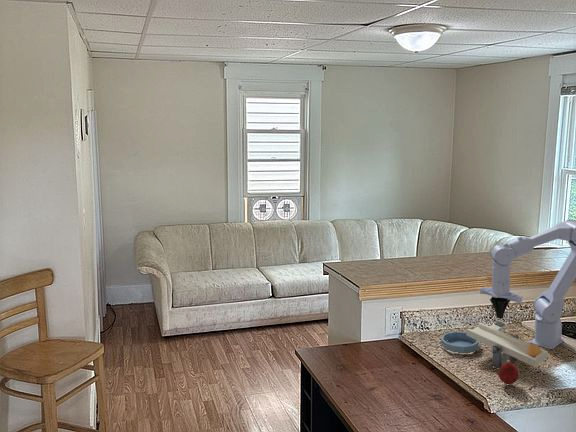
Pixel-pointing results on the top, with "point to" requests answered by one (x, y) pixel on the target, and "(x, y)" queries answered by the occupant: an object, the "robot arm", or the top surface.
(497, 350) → the stand
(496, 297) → the robot arm
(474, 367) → the top surface
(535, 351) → the ball
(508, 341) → the lever
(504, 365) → the onion
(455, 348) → the blue bowl
